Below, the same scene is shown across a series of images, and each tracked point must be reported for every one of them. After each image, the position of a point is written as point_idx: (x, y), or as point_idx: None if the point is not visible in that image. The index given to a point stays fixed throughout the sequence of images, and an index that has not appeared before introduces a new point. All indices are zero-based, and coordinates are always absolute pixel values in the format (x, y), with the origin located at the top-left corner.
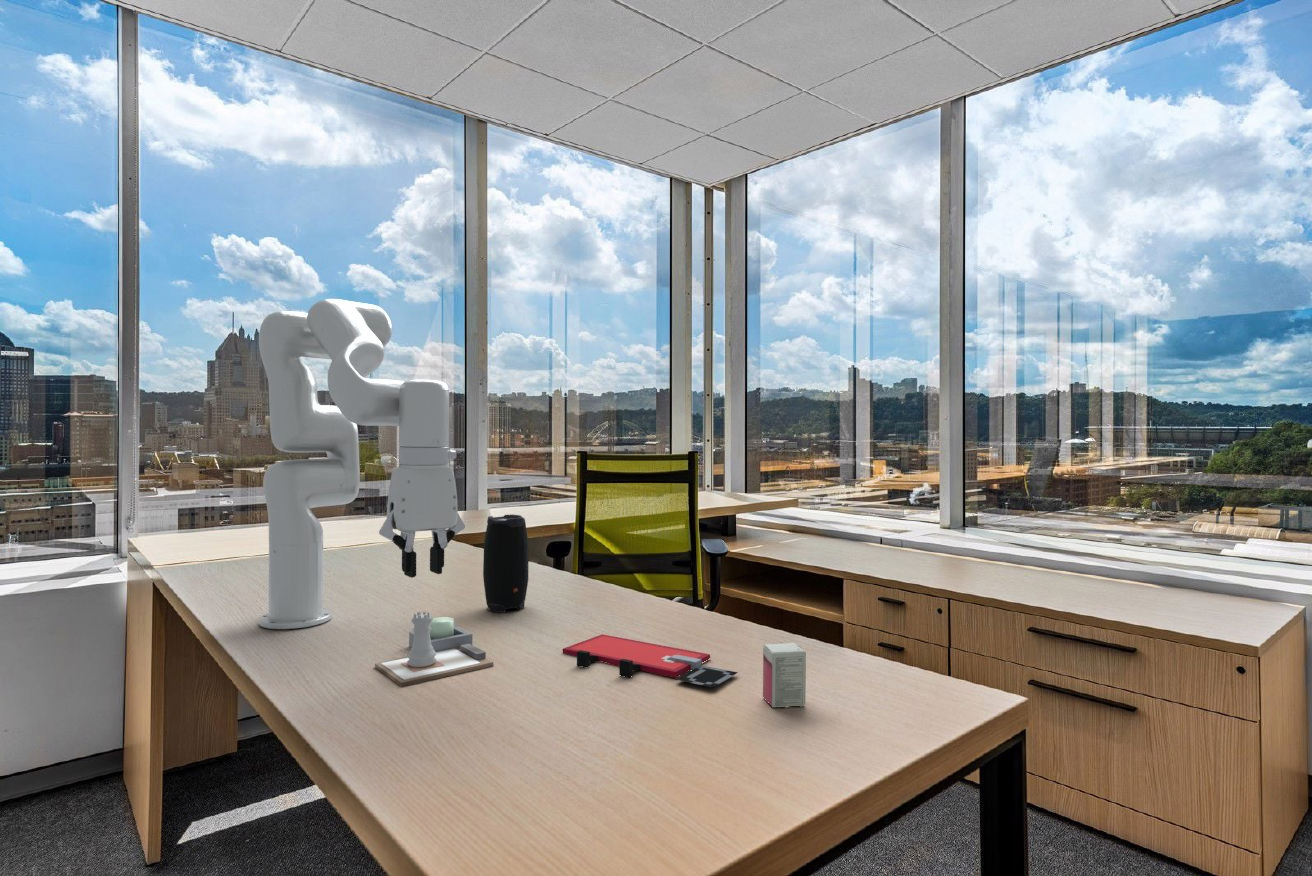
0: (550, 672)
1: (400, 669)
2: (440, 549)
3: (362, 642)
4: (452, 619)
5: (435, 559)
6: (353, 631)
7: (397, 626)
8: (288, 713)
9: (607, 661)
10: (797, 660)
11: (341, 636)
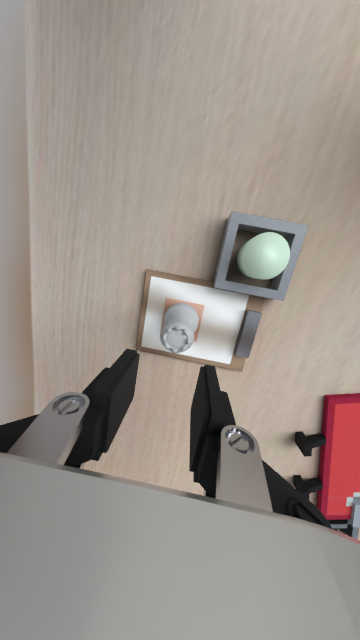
0: (262, 424)
1: (155, 315)
2: (198, 482)
3: (194, 135)
4: (282, 267)
5: (193, 427)
6: (220, 39)
7: (292, 74)
8: (33, 328)
9: (321, 451)
10: None
11: (189, 60)
